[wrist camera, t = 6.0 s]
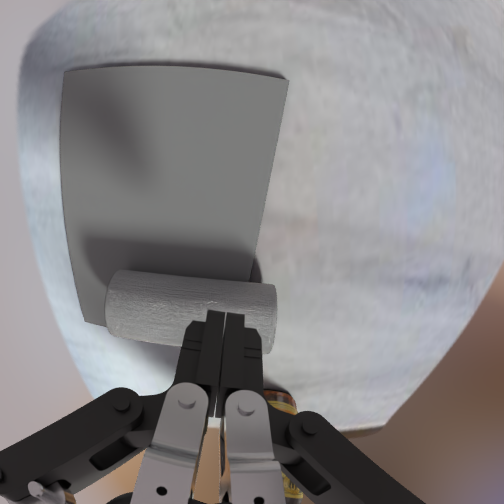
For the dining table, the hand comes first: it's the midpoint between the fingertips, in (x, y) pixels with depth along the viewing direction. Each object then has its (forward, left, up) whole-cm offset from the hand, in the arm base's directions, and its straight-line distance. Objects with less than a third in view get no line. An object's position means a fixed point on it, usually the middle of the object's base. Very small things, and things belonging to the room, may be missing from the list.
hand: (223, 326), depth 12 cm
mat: (0, -5, -8) cm, 10 cm away
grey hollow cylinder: (+4, +3, -5) cm, 7 cm away
